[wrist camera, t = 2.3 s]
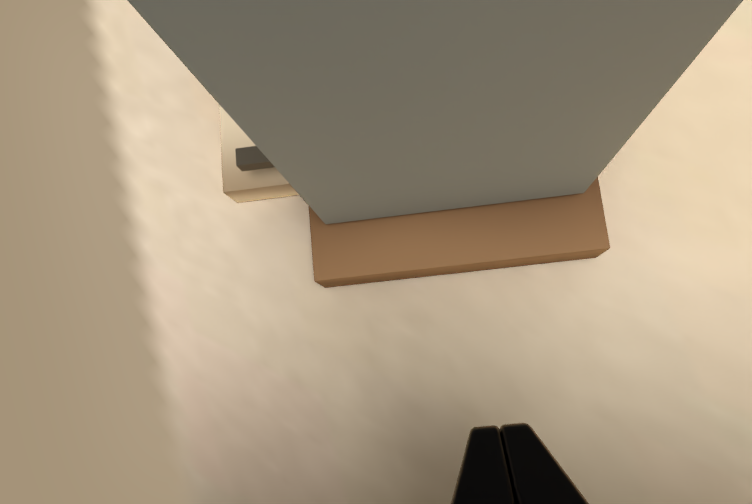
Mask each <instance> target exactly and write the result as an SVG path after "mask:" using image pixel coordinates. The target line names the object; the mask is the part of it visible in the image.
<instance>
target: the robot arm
mask: <svg viewBox="0 0 752 504" xmlns="http://www.w3.org/2000/svg"><path fill="white" fill-rule="evenodd" d="M451 504H589V503H588V502H587V501H586V499H585V498H584V497H583V495H582V494H581V493H580V491H579V490H578V489H577V487H576V486H575V485H574V483H573V482H572V481H571V479H570V478H569V477H568V475H567V474H566V473H565V471H564V470H563V469H562V467H561V466H560V465H559V463H558V462H557V461H556V459H555V458H554V457H553V455H552V454H551V453H550V451H549V450H548V449H547V447H546V446H545V445H544V443H543V442H542V441H541V439H540V438H539V437H538V435H537V434H536V433H535V431H534V430H533V429H532V428H531V427H530V426H529V425H528V424H526V423H518V424H506V425H502V426H501V428H500V429H499V428H498V427H497V426H483V427H474V428H473V429H472V430H471V431H470V434H469V438H468V442H467V445H466V449H465V453H464V457H463V461H462V464H461V468H460V472H459V476H458V480H457V483H456V487H455V491H454V495H453V498H452V502H451Z"/></svg>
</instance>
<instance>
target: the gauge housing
mask: <svg viewBox="0 0 752 504" xmlns="http://www.w3.org/2000/svg"><path fill="white" fill-rule="evenodd" d="M219 116H220V137H221V157H222V178H223V193H225V194H226V195H227V196H229V197H230V198H231V199H233V200H234V201H235V202H237V203H239V202H247V201H255V200H263V199H271V198H279V197H286V196H294V195H299V194H298V193H297V191H296V190H295V189H294V188H293V187H292V186H291V185H290V184H289V182H288V181H287V180H286V179H285V178H284V177H283V176H282V175H281V173H280V172H279V171H278V170H277V169H276V168H275V167H273V168H265V169H258V170H250V171H241V170H240V169H239V168H238V167H237V166H236V152H235V149H236V148H243V147H251V146H256V145H255V144H254V143H253V142H252V141H251V139H250V138H249V137H248V136H247V135H246V134H245V133H244V132H243V130H242V129H241V128H240V127H239V126H238V125H237V124H236V122H235V121H234V120H233V119H232V118H231V117H230V116H229V115H228V113H227V112H226V111H225V110H224V109H223V108H222V107H221V105H220V104H219ZM309 216H310V229H311V242H312V255H313V268H314V281H315V282H317V283H318V284H320V285H322V286H323V287H325V288H326V287H335V286H344V285H353V284H362V283H371V282H380V281H389V280H398V279H407V278H416V277H425V276H434V275H443V274H452V273H461V272H470V271H479V270H488V269H497V268H506V267H515V266H524V265H533V264H542V263H551V262H560V261H569V260H578V259H587V258H596V257H598V256H599V255H600V254H602V253H603V252H605V251H606V250H608V249H609V248H610V245H609V239H608V233H607V228H606V222H605V216H604V210H603V205H602V199H601V193H600V187H599V182H598V177H597V178H596V179H595V180H594V181H593V183H592V184H591V185H590V186H589V187H588V189H587V190H586V191H585V192H584V193H580V194H572V195H563V196H555V197H547V198H539V199H530V200H522V201H514V202H506V203H497V204H489V205H481V206H473V207H464V208H456V209H448V210H440V211H431V212H423V213H415V214H407V215H398V216H390V217H382V218H374V219H365V220H357V221H349V222H341V223H332V224H325V223H324V222H323V221H322V220H321V219H320V218H319V216H318V215H317V214H316V213H315V212H314V211H313V210H312V208H311V207H310V206H309Z"/></svg>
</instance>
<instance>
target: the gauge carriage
mask: <svg viewBox="0 0 752 504" xmlns="http://www.w3.org/2000/svg"><path fill="white" fill-rule="evenodd" d="M128 1H129V2H130V4H131V5H132V6H133V7H134V8H135V9H136V10H137V12H138V13H139V14H140V15H141V16H142V17H143V18H144V19H145V21H146V22H147V23H148V24H149V25H150V26H151V27H152V29H153V30H154V31H155V32H156V33H157V34H158V35H159V36H160V38H161V39H162V40H163V41H164V42H165V43H166V44H167V45H168V47H169V48H170V49H171V50H172V51H173V52H174V53H175V55H176V56H177V57H178V58H179V59H180V60H181V61H182V62H183V64H184V65H185V66H186V67H187V68H188V69H189V70H190V72H191V73H192V74H193V75H194V76H195V77H196V78H197V79H198V81H199V82H200V83H201V84H202V85H203V86H204V87H205V89H206V90H207V91H208V92H209V93H210V94H211V95H212V96H213V98H214V99H215V100H216V101H217V102H218V103H219V104H220V105H221V107H222V108H223V109H224V110H225V111H226V112H227V113H228V115H229V116H230V117H231V118H232V119H233V120H234V121H235V122H236V124H237V125H238V126H239V127H240V128H241V129H242V130H243V132H244V133H245V134H246V135H247V136H248V137H249V138H250V139H251V141H252V142H253V143H254V144H255V145H256V146H251V147H243V148H236V149H235V152H236V166H237V167H238V168H239V169H240V170H241V171H250V170H258V169H265V168H273V167H275V168H276V169H277V170H278V171H279V172H280V173H281V175H282V176H283V177H284V178H285V179H286V180H287V181H288V182H289V184H290V185H291V186H292V187H293V188H294V189H295V190H296V191H297V193H298V194H299V195H300V196H301V197H302V198H303V199H304V201H305V202H306V203H307V204H308V205H309V206H310V207H311V208H312V210H313V211H314V212H315V213H316V214H317V215H318V216H319V218H320V219H321V220H322V221H323V222H324V223H325V224H332V223H341V222H349V221H357V220H365V219H374V218H382V217H390V216H398V215H407V214H415V213H423V212H431V211H440V210H448V209H456V208H464V207H473V206H481V205H489V204H497V203H506V202H514V201H522V200H530V199H539V198H547V197H555V196H563V195H572V194H580V193H584V192H585V191H586V190H587V189H588V187H589V186H590V185H591V184H592V183H593V181H594V180H595V179H596V178H597V177H598V175H599V174H600V173H601V172H602V171H603V169H604V168H605V167H606V166H607V164H608V163H609V162H610V161H611V160H612V158H613V157H614V156H615V155H616V154H617V152H618V151H619V150H620V149H621V148H622V146H623V145H624V144H625V143H626V141H627V140H628V139H629V138H630V137H631V135H632V134H633V133H634V132H635V131H636V129H637V128H638V127H639V126H640V125H641V123H642V122H643V121H644V120H645V118H646V117H647V116H648V115H649V114H650V112H651V111H652V110H653V109H654V108H655V106H656V105H657V104H658V103H659V101H660V100H661V99H662V98H663V97H664V95H665V94H666V93H667V92H668V91H669V89H670V88H671V87H672V86H673V85H674V83H675V82H676V81H677V80H678V78H679V77H680V76H681V75H682V74H683V72H684V71H685V70H686V69H687V68H688V66H689V65H690V64H691V63H692V62H693V60H694V59H695V58H696V57H697V55H698V54H699V53H700V52H701V51H702V49H703V48H704V47H705V46H706V45H707V43H708V42H709V41H710V40H711V39H712V37H713V36H714V35H715V34H716V32H717V31H718V30H719V29H720V28H721V26H722V25H723V24H724V23H725V22H726V20H727V19H728V18H729V17H730V15H731V14H732V13H733V12H734V11H735V9H736V8H737V7H738V6H739V5H740V3H741V2H742V1H743V0H128Z"/></svg>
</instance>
